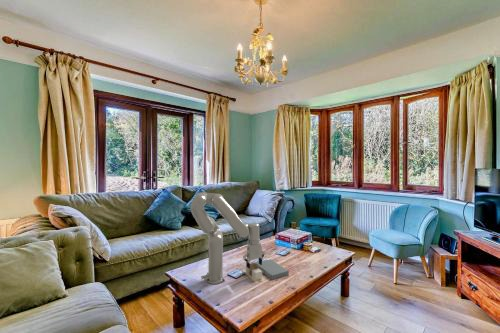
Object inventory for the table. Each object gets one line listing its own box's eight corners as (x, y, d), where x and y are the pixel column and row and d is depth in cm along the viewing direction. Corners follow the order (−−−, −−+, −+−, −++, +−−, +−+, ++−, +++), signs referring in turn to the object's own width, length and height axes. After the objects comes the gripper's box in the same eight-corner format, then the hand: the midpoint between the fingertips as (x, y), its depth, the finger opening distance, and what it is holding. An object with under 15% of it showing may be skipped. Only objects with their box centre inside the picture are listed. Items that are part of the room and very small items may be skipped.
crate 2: (255, 280, 151) (255, 272, 151) (252, 277, 156) (252, 269, 156) (262, 278, 154) (262, 271, 154) (258, 275, 158) (258, 268, 158)
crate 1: (249, 274, 159) (249, 267, 159) (246, 271, 164) (246, 264, 164) (255, 272, 162) (255, 265, 162) (252, 270, 166) (252, 263, 166)
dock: (272, 281, 153) (272, 275, 153) (255, 268, 172) (255, 262, 172) (288, 276, 160) (288, 270, 160) (270, 264, 179) (270, 259, 179)
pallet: (256, 286, 148) (256, 271, 148) (242, 273, 166) (242, 259, 165) (266, 283, 152) (266, 268, 152) (251, 270, 169) (251, 257, 169)
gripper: (245, 245, 151) (246, 271, 151) (267, 240, 159) (267, 265, 160) (240, 242, 157) (240, 266, 158) (261, 237, 166) (261, 261, 166)
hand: (254, 266), depth 159 cm, fingers open, 9 cm apart
